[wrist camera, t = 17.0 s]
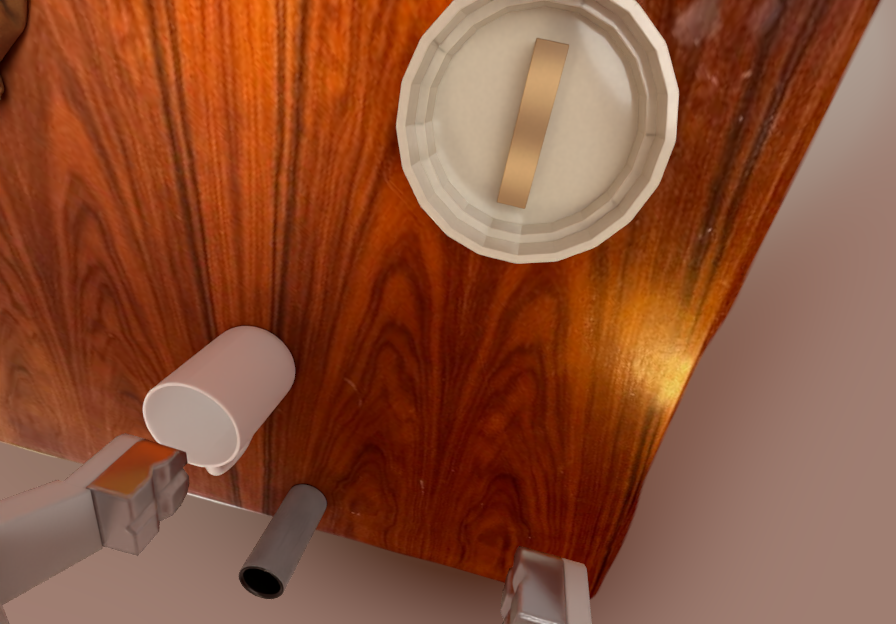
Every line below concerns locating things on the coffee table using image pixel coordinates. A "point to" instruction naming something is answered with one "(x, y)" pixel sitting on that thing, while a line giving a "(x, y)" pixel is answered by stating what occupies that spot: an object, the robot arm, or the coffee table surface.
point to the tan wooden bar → (532, 121)
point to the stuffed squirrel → (11, 26)
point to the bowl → (568, 133)
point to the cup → (220, 397)
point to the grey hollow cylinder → (283, 543)
